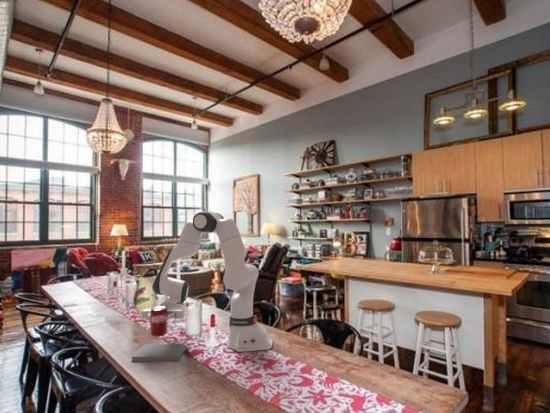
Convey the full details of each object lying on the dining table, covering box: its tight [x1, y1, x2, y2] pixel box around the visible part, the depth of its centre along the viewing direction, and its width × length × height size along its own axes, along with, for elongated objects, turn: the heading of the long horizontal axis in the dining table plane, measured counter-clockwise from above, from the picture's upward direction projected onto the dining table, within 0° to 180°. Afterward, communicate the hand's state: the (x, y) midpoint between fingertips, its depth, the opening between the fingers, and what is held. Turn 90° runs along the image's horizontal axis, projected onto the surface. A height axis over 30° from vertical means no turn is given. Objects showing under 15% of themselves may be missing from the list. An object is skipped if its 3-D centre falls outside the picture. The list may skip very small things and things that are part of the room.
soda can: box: [149, 305, 168, 338], centre depth 149 cm, size 7×7×12 cm
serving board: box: [131, 343, 187, 362], centre depth 148 cm, size 20×14×2 cm
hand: (158, 317), depth 148 cm, fingers closed on soda can, 7 cm apart
